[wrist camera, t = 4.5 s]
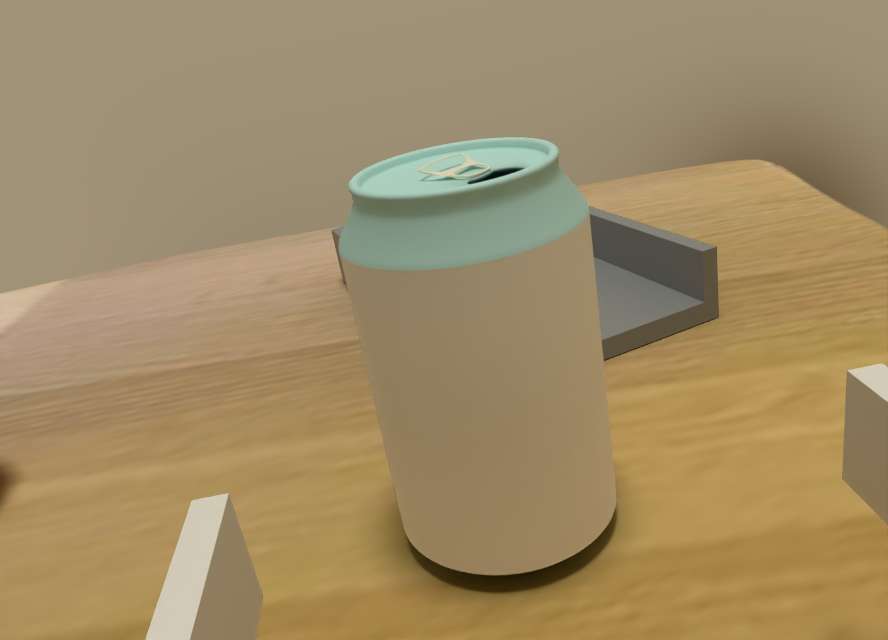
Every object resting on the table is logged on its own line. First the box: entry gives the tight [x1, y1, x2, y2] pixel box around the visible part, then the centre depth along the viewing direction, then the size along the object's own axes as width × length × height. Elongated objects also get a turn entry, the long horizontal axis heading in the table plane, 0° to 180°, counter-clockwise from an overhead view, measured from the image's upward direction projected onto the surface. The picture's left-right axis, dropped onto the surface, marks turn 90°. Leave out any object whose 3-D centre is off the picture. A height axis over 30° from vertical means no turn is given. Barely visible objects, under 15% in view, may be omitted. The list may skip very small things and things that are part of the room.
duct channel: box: [332, 206, 719, 360], centre depth 43 cm, size 13×20×4 cm, turn 24°
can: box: [339, 137, 617, 575], centre depth 24 cm, size 7×7×12 cm
